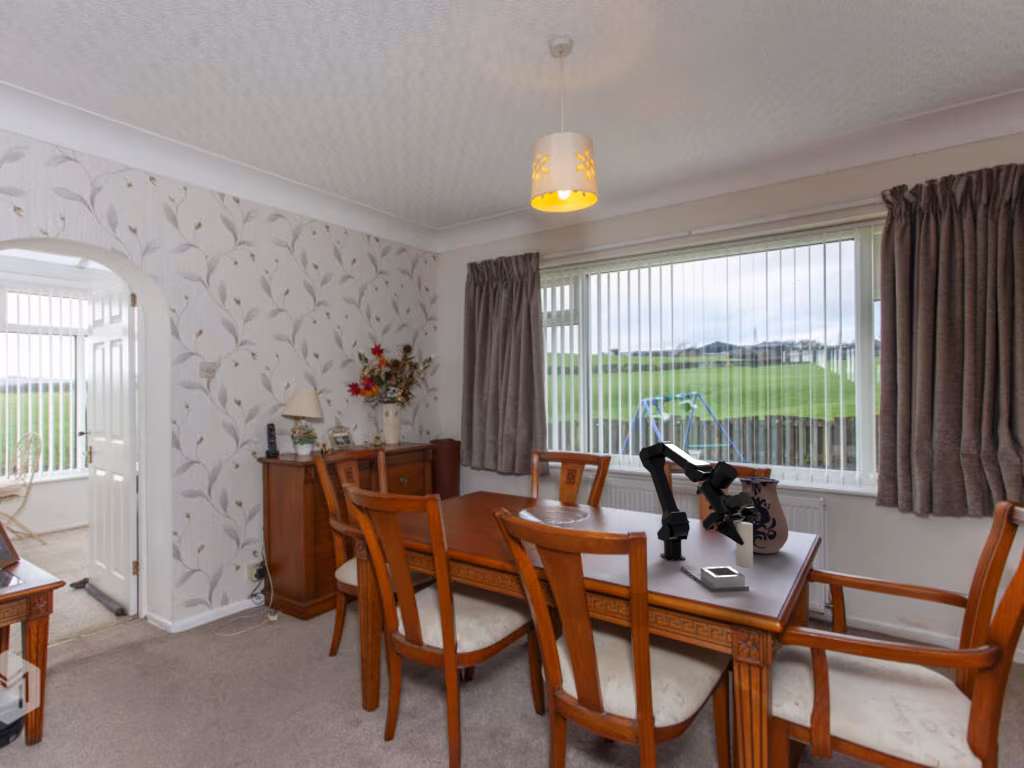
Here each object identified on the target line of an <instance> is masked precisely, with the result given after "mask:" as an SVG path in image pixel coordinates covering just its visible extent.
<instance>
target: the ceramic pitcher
mask: <svg viewBox="0 0 1024 768" xmlns="http://www.w3.org/2000/svg"><path fill="white" fill-rule="evenodd" d="M738 480H739V482H740V484H741V492H742V491H747V492H748V493H749V494H750V495H751V497H752V500H751V501H750V503H751V504H746V505H743V506H741V509H740V510H739V511H738V513H739V512H741V511H742V510H743V509H744V508H745V507H751V506H753V507H756V508H757V510H758V511H759V512H760V513H759V514H758V515H757V516H756V517H755V518H754V519H753V520H752V521H751V523H752V524H753V535H754V538H755V542H754V543H753V553H755V554H764V555H766V554H767V555H771V553H772V554H775V553H778V552H779V551H780V550H781V549H782V548H784V545H785V544H786V542H787V541H788V538H789V526H788V522H787V518H786V516H785V513H784V510H783V508H782V505H781V501H780V499H779V496H778V492H777V486H778V484H779V483H780V480H779V479H775V478H769V477H767V476H762V477H761V476H760V477H758V476H755V477H751V476H749V477H748V476H747V477H742V478H738ZM734 527H736V522H735V521H734Z"/></svg>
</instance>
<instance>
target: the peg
mask: <svg viewBox="0 0 1024 768" xmlns="http://www.w3.org/2000/svg"><path fill="white" fill-rule="evenodd" d="M736 530H737V532H738V533H739V535H740V537H741V538H742V540H743V542H744V544H743V545H740V544H738V543H736V542H735V543H736V544H735V545H736V546H735V547H736V548H735V549H736V552H735V553H736V554H735V555H736V557H735V558H736V562H735V563H736V566H737V567H740V568H745V569H746V568H747V569H750V568H753V567H754V552H753V524H752V523H749V522H736Z"/></svg>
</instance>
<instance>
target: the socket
mask: <svg viewBox="0 0 1024 768" xmlns="http://www.w3.org/2000/svg"><path fill="white" fill-rule="evenodd" d="M681 569H682V570H681ZM680 570H681V571H683V570H684V571H685V572H686V573H685V572H684V571H683V572H684V573H685V574H687V573H688V574H689V575H690V576H689V575H688V574H687V575H688V576H689V577H691V576H692V577H693V578H694V579H693V578H692V577H691V578H692V579H693V580H695V581H696V580H697V581H698V583H699V584H700V583H701V584H702V585H701V584H700V585H701V586H703V587H704V588H705V589H707V590H708V591H710V592H711V593H718V592H738V591H750V586H749V585H747V584H746V579H745V578H746V575H744V574H743V573H741V572H739V571H737V570H736V569H734V567H733V568H732V567H731V566H729V565H727V566H717V565H715V564H712V563H711V564H696V565H695V564H694V565H692V564H691V565H680ZM697 581H696V582H697Z"/></svg>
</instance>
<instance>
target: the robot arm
mask: <svg viewBox="0 0 1024 768" xmlns="http://www.w3.org/2000/svg"><path fill="white" fill-rule="evenodd" d="M638 456H639V459H640V462H641V464H642V466H643V467H644V469H645V470H646V471H647V472H648V473H650V478H651V479H652V483H653V486H654V488H655V491H656V495H657V498H658V501H659V504H660V508H661V510H662V516H661V520H660V521H661V527H660V528H659V530H658V531H657V532H656V534H657V539H658V540H660V541H663V553H660V556H661V555H662V556H663V557H664V558H663V557H662V556H661V557H662V558H663V559H665V560H666V561H683V560H686V557H685V556H683V555H682V553H683V551H682V541H685V540H687V539H688V537H689V533H690V529H691V527H690V523H691V522H690V521H689V519H688V515H687V512H686V511H684V510H683V511H682V510H680V509H679V507H678V505H677V503H676V500H675V496H674V494H673V491H672V488H671V486H670V483H669V480H668V477H667V474H666V470H665V465H666V458H667V459H669V460H670V461H672V462H673V463H675V464H676V465H677V466H679V468H681V469H682V470H683V472H684V475H685V476H686V477H687V478H688V480H690V482H692V483H701V484H700V485H697V487H696V488H697V489H696V492H695V493H696V494H695V495H697V496H699V495H703V497H704V498H705V499H706V501H707V503H708V504H709V506H708V509H709V510H710V511H713V512H710V513H709V514H708V515H707V516H705V518H704V519H703V520H702V527H703V528H704V530H705V531H706V532H708V531H713V530H714V529H715V526H714V525H716V527H717V528H716V529H715V532H716V533H720V534H722V535H723V536H725V537H727V538H728V539H730V540H732V541H733V542H734V543H738V544H740V545H743V544H744V542H743V540H742V538H741V537H740V535H739V533H738V532H737V530H736V527H734V521H735V522H749V523H751V521H752V520H753V519H754V518H755V517H756V516H757V515H758V514H759V513H760V512H759V511H758V510H757V508H756V507H753V506H751V507H745V508H744V509H743V510H742V511H741V512H739V513H738V511H739V510H740V509H741V506H743V505H746V504H751V503H750V501H751V500H752V497H751V495H750V494H749V493H748V492H747V491H742V490H741V492H740V491H739V493H737V494H733V495H732V494H727V493H725V490H727V489H728V488H729V487H730V485H732V483H733V482H735V480H736V478H738V476H739V472H738V469H737V468H736V467H734V466H732V465H731V464H730V463H727V462H726V461H725V460H718V461H717V463H716V464H715V466H714V467H713V465H712V464H711V463H709V462H706V461H704V460H702V459H697V458H695V457H693V456H691V455H689V454H688V453H687V452H685V451H683V450H682V449H681V448H680V447H678V446H676V445H675V444H674V442H672V441H670V440H665V441H663V440H662V441H659V442H656V443H655V444H653V445H649V446H645V447H642V448H641V449H640V451H639V453H638ZM754 542H755V538H754V535H753V543H754Z"/></svg>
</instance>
